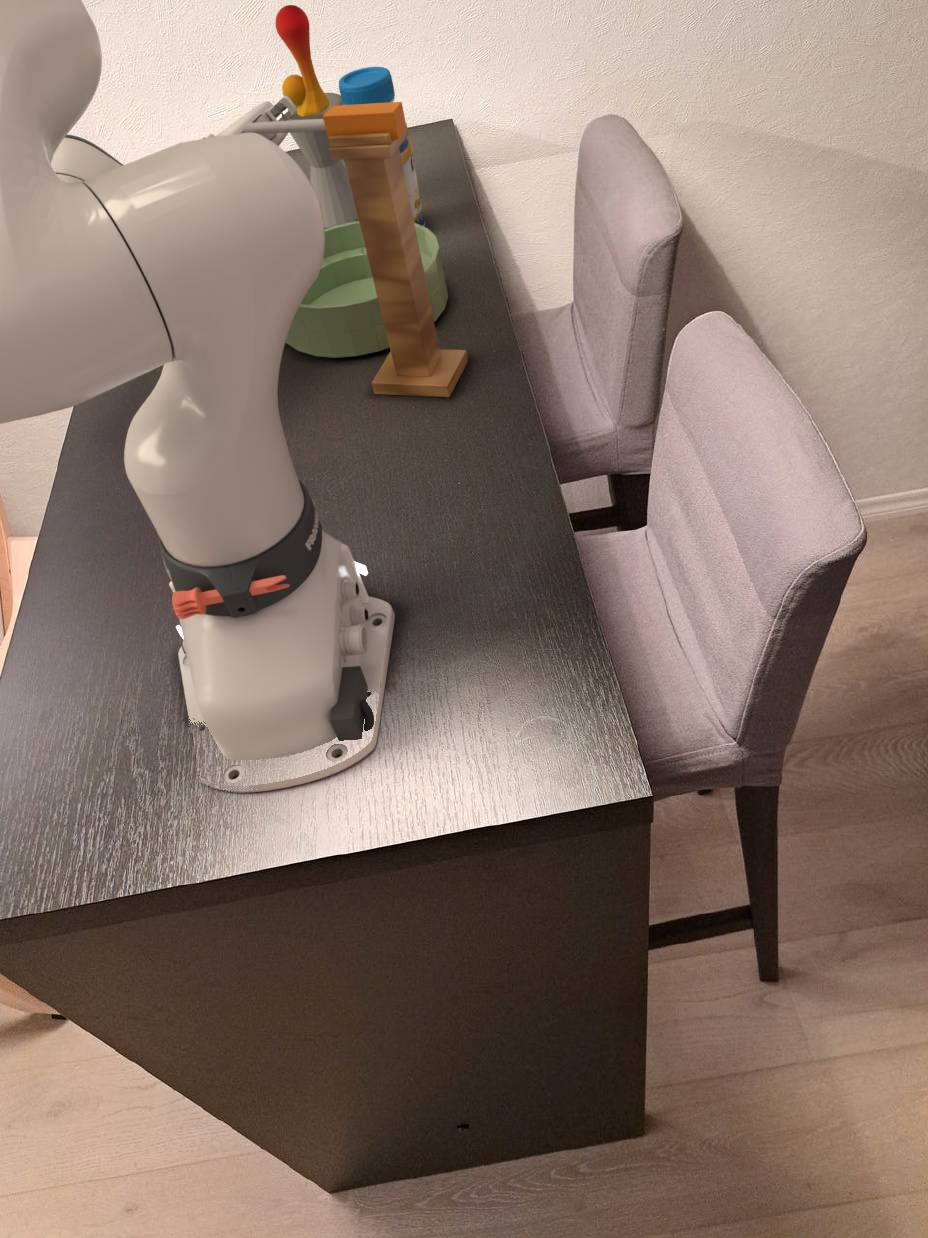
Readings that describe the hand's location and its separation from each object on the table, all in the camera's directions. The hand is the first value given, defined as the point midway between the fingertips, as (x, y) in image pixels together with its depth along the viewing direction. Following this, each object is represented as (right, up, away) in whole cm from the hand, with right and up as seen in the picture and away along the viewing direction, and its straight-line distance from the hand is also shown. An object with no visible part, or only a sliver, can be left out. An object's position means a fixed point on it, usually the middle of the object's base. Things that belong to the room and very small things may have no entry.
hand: (269, 124), depth 89 cm
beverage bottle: (+9, +8, +43) cm, 45 cm away
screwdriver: (+5, -2, -1) cm, 5 cm away
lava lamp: (0, +13, +50) cm, 52 cm away
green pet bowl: (+6, -9, +29) cm, 31 cm away
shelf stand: (+14, -20, +17) cm, 29 cm away
